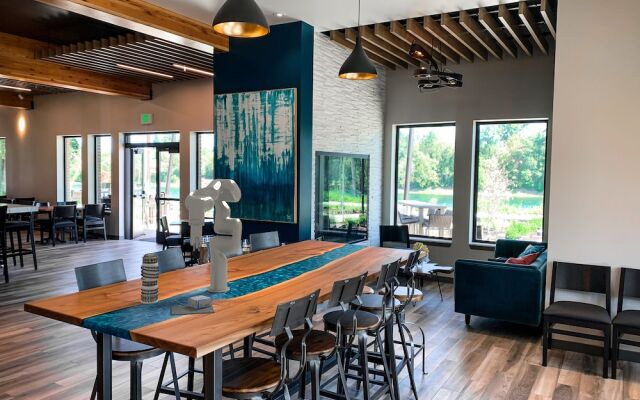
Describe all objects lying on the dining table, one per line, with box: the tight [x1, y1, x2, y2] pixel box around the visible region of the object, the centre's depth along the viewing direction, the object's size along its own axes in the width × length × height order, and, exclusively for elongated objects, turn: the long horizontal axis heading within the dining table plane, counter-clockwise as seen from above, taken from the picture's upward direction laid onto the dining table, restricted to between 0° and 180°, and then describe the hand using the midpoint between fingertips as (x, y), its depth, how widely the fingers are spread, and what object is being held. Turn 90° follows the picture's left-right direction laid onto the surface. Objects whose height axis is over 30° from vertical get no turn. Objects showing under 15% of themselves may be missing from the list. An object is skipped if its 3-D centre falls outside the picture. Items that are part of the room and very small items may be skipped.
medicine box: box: [187, 294, 212, 309], centre depth 241 cm, size 8×4×9 cm
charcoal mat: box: [170, 303, 215, 316], centre depth 236 cm, size 14×20×1 cm
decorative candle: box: [140, 252, 160, 305], centre depth 248 cm, size 9×9×25 cm
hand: (196, 258), depth 237 cm, fingers closed
